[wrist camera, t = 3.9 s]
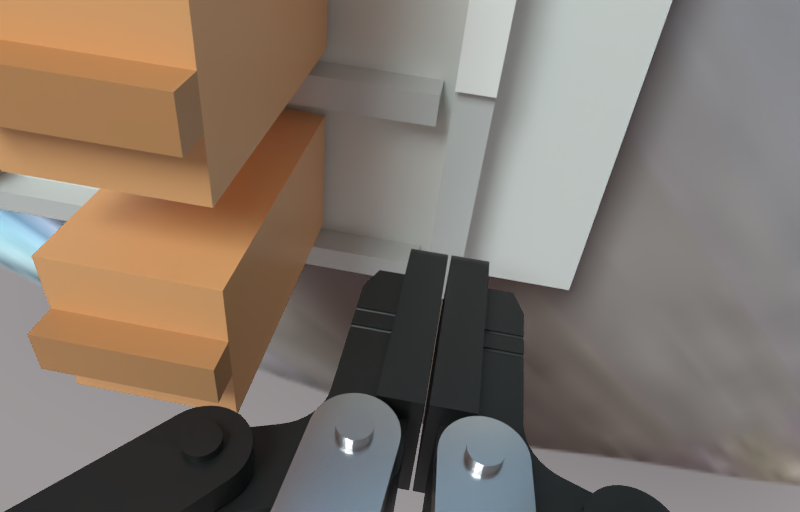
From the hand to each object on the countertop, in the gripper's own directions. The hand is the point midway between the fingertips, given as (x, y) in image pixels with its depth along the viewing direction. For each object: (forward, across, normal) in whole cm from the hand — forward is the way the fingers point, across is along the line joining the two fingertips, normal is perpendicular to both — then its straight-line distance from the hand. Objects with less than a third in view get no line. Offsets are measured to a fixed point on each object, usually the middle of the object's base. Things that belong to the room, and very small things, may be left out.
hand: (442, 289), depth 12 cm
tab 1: (+3, +5, -5) cm, 7 cm away
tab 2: (+3, +5, 0) cm, 6 cm away
